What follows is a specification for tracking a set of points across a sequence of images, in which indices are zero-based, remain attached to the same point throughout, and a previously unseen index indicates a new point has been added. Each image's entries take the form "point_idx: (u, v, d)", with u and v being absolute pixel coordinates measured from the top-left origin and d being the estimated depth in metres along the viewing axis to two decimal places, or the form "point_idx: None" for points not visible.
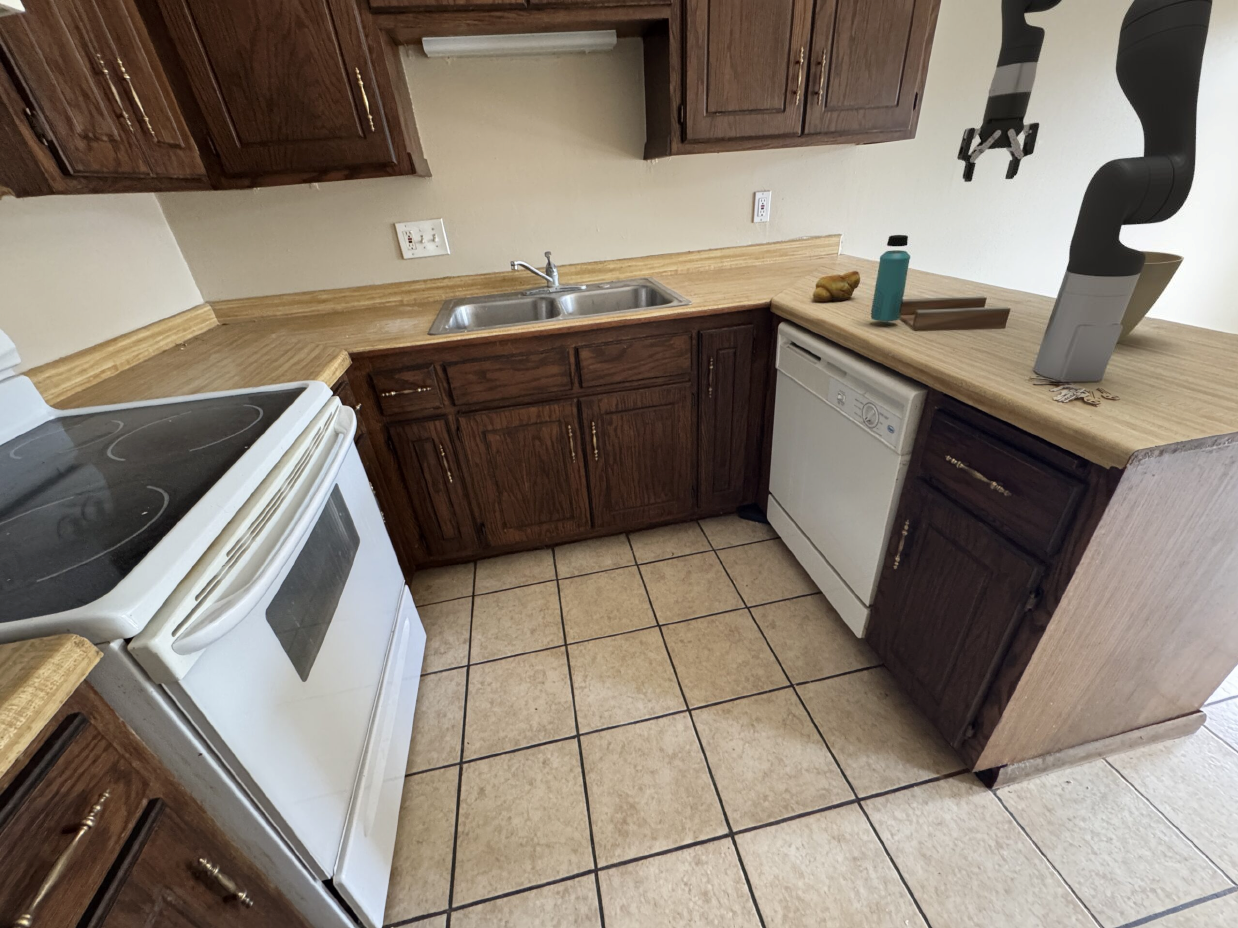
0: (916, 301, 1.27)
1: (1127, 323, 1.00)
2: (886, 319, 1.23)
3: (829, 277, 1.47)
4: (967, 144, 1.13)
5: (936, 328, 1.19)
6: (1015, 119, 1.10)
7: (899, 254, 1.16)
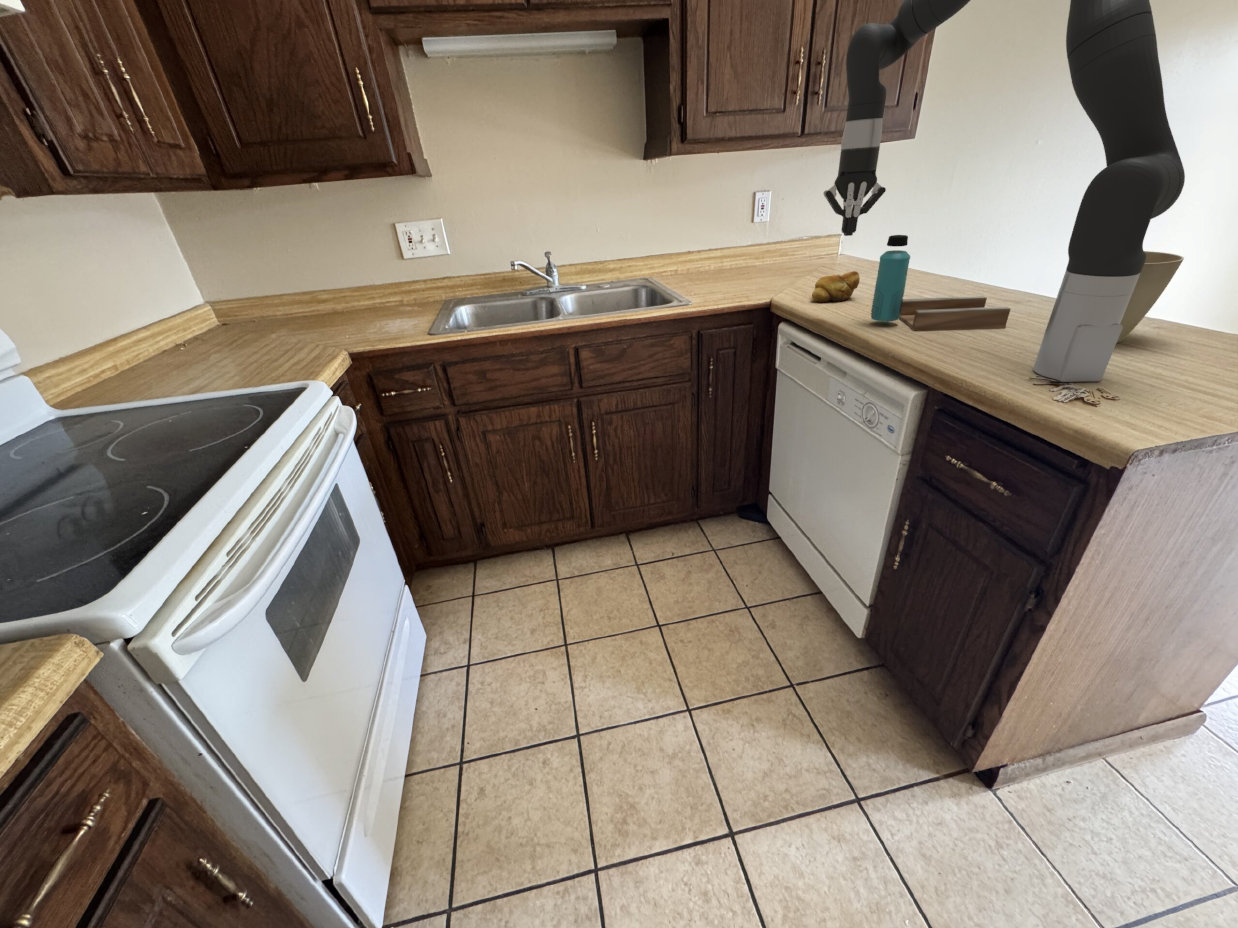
0: (916, 301, 1.27)
1: (1127, 323, 1.00)
2: (886, 319, 1.23)
3: (828, 277, 1.47)
4: (834, 203, 1.14)
5: (936, 328, 1.19)
6: (867, 172, 1.10)
7: (899, 254, 1.16)
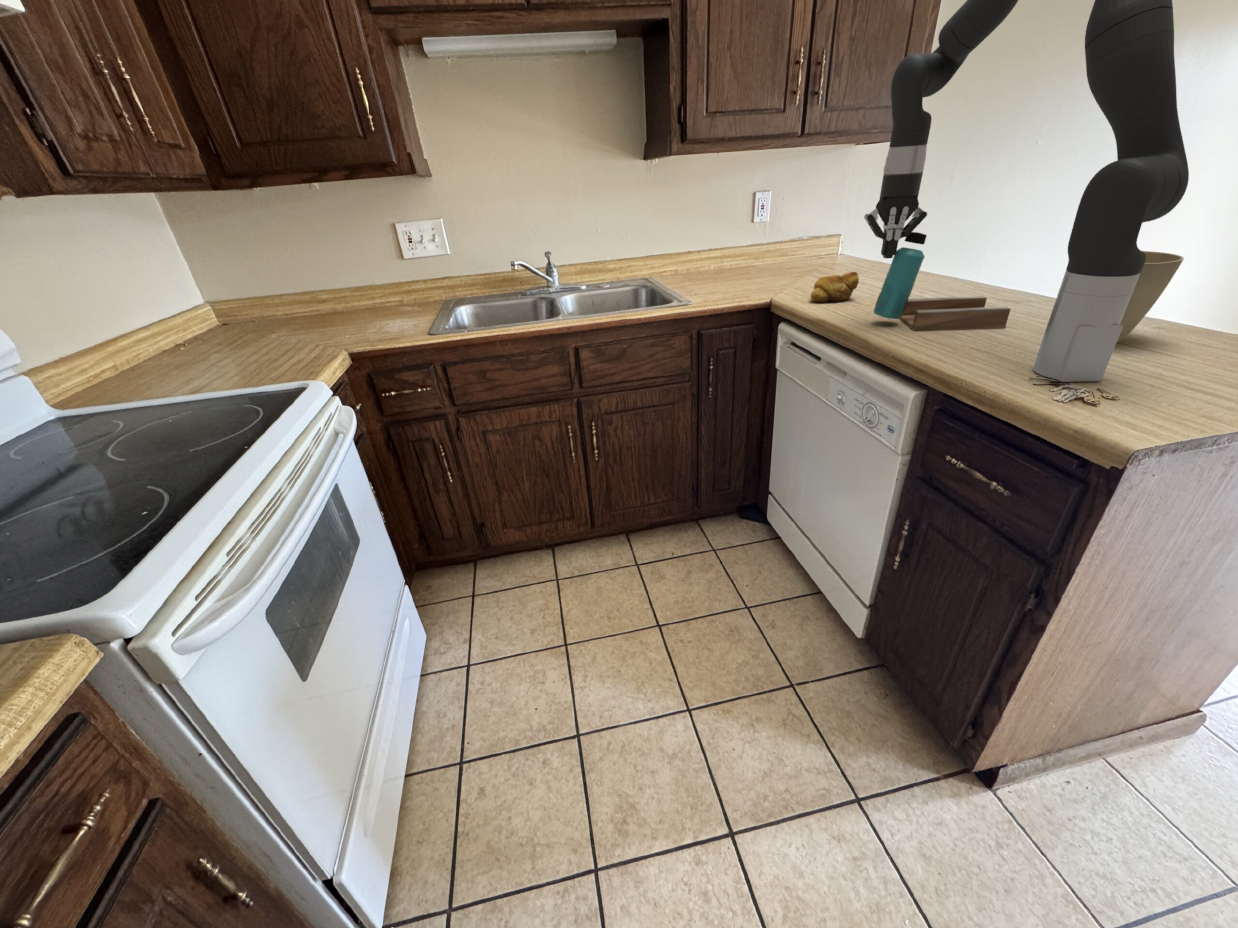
0: (916, 301, 1.27)
1: (1127, 323, 1.00)
2: (888, 316, 1.22)
3: (827, 278, 1.47)
4: (875, 227, 1.15)
5: (936, 328, 1.19)
6: (909, 197, 1.12)
7: (915, 251, 1.16)
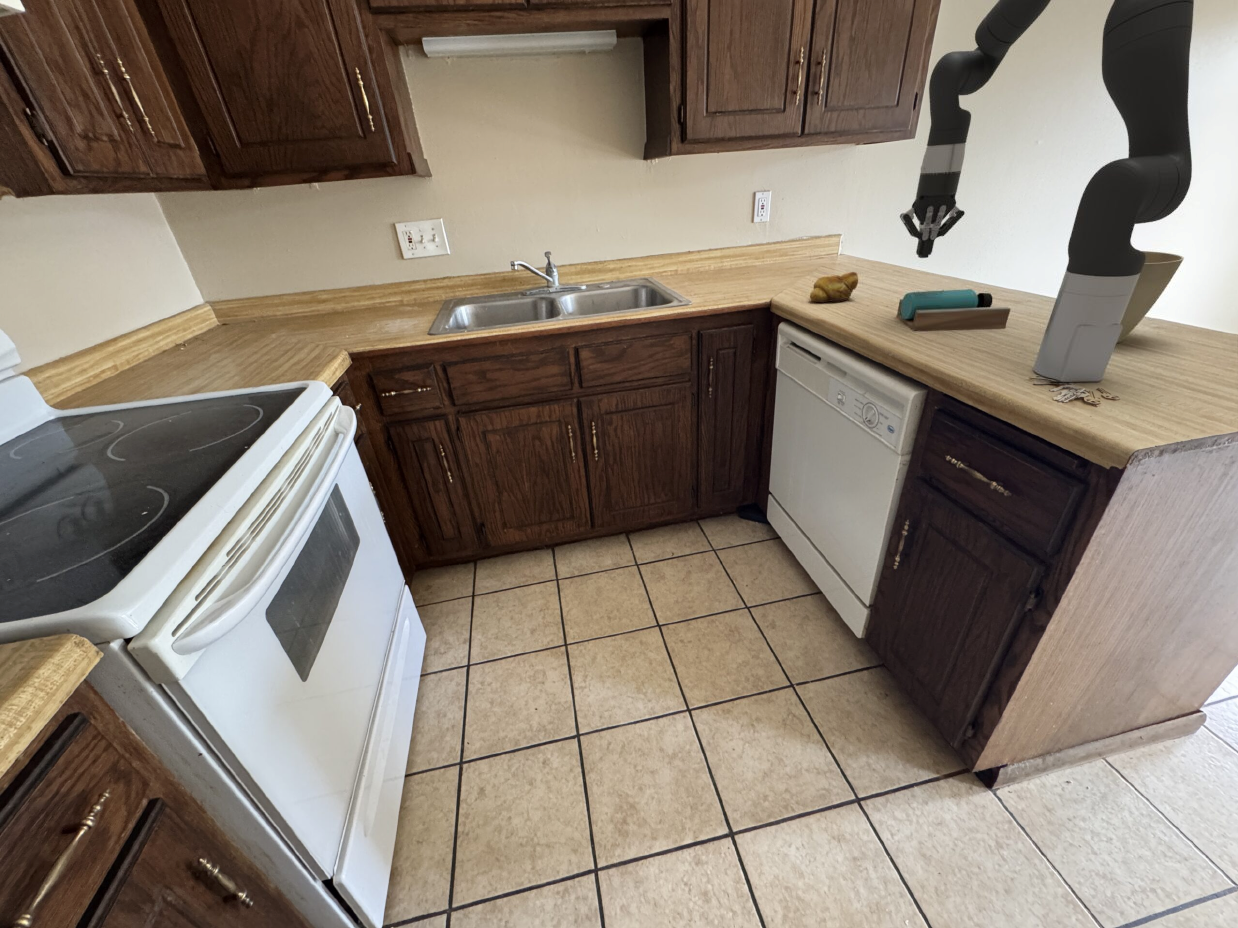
0: None
1: (1127, 323, 1.00)
2: (914, 305, 1.21)
3: (826, 278, 1.47)
4: (911, 226, 1.14)
5: (936, 328, 1.19)
6: (947, 196, 1.11)
7: (977, 303, 1.21)
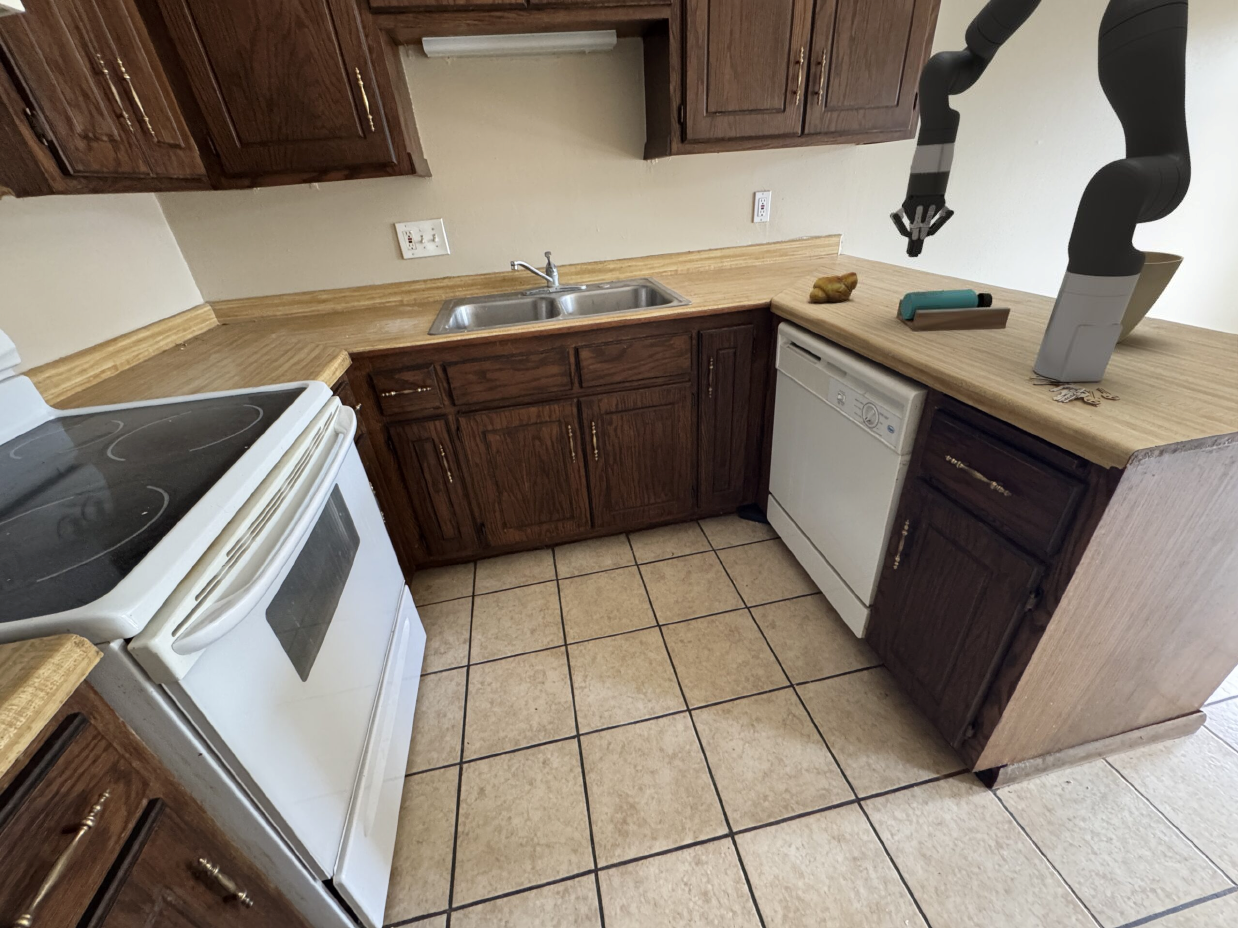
0: None
1: (1127, 323, 1.00)
2: (914, 305, 1.21)
3: (826, 278, 1.47)
4: (901, 226, 1.15)
5: (936, 328, 1.19)
6: (936, 195, 1.11)
7: (977, 303, 1.21)
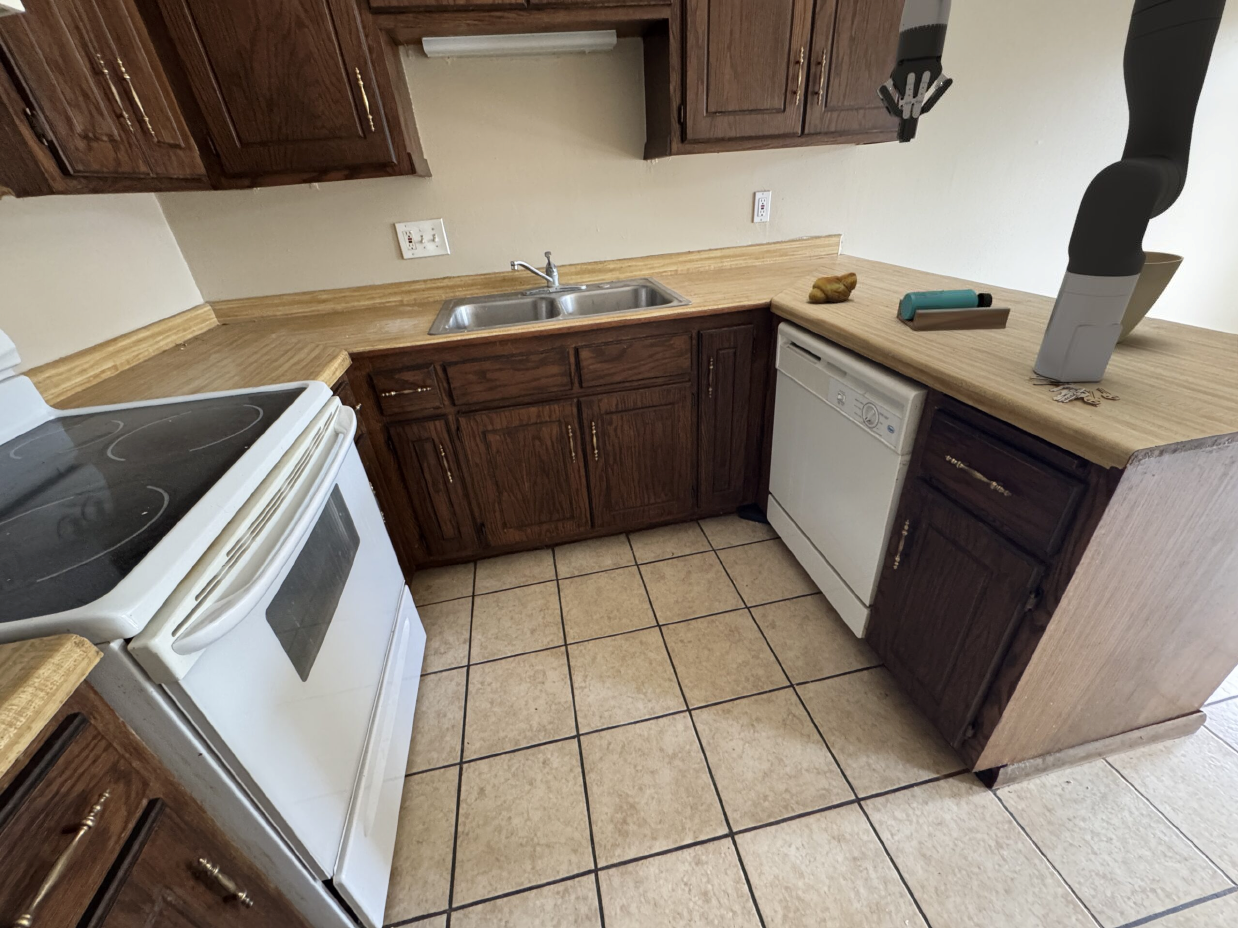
0: None
1: (1127, 323, 1.00)
2: (914, 305, 1.21)
3: (825, 278, 1.46)
4: (889, 101, 0.96)
5: (936, 328, 1.19)
6: (931, 59, 0.92)
7: (977, 303, 1.21)
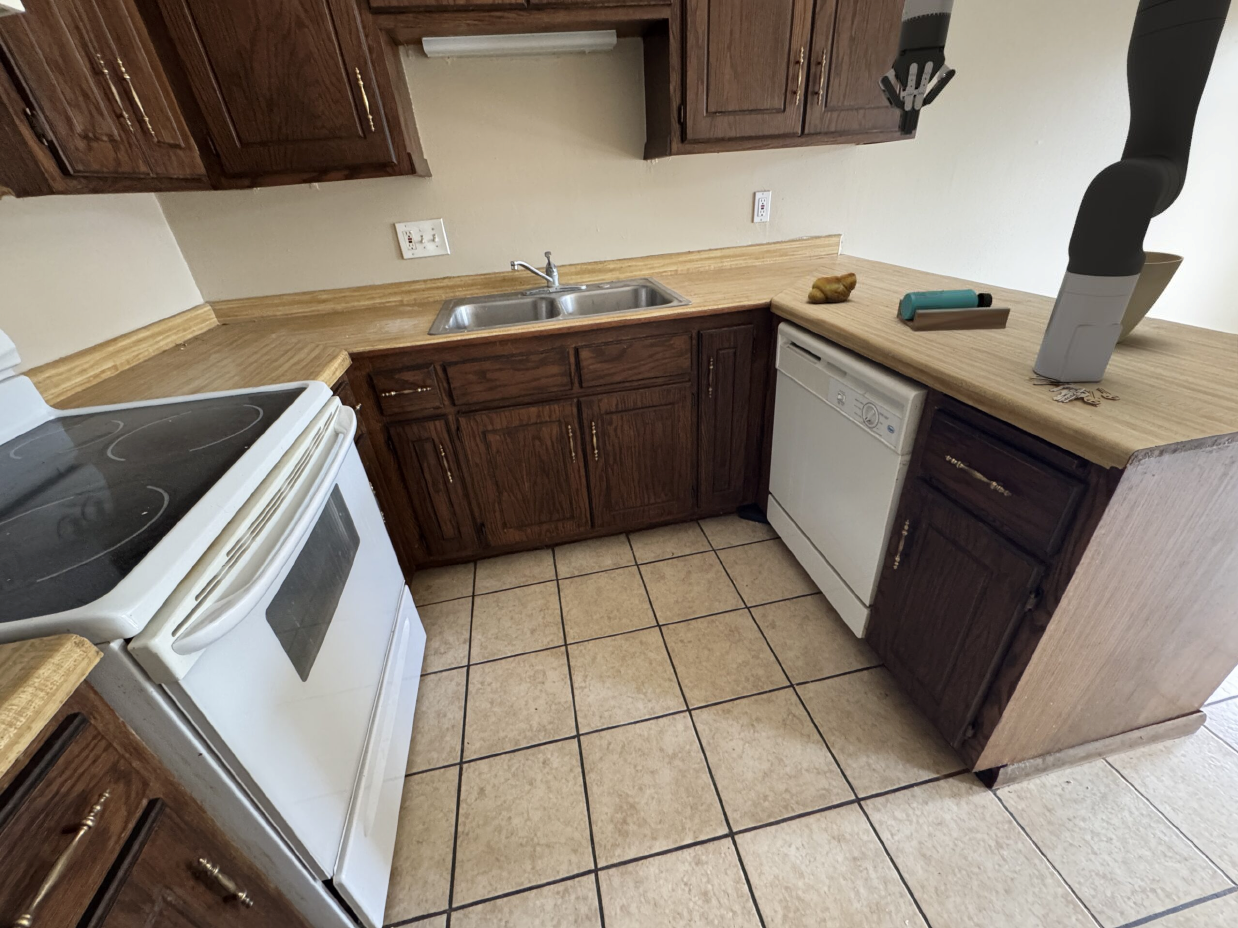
0: None
1: (1127, 323, 1.00)
2: (914, 305, 1.21)
3: (824, 278, 1.46)
4: (891, 92, 0.94)
5: (936, 328, 1.19)
6: (934, 49, 0.90)
7: (977, 303, 1.21)
